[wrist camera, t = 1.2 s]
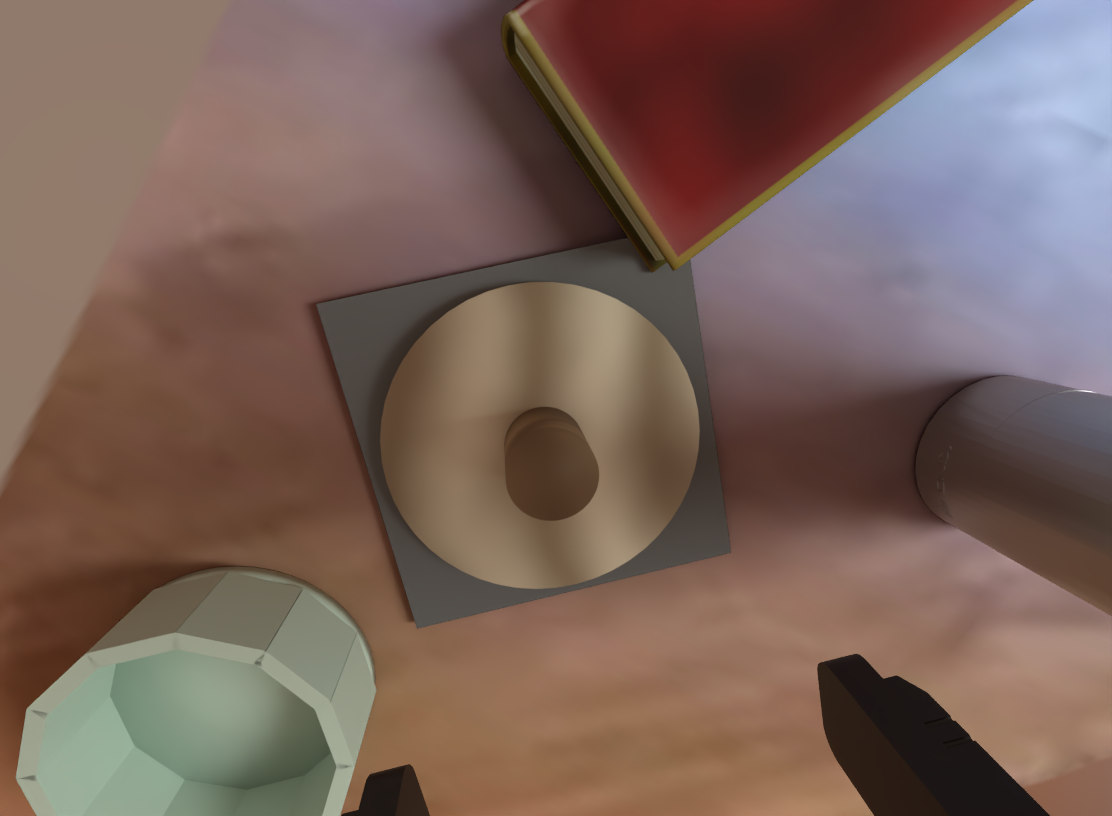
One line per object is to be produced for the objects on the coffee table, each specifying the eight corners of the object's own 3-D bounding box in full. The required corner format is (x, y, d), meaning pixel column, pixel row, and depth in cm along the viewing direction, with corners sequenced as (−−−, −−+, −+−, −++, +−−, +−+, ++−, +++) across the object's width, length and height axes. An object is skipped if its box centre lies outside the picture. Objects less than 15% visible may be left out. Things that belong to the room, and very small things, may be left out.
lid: (668, 250, 28) (708, 246, 23) (712, 541, 32) (754, 595, 27) (343, 320, 27) (306, 333, 22) (430, 608, 31) (417, 678, 26)
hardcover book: (500, 49, 25) (501, 3, 21) (893, -263, 24) (973, -375, 20) (651, 272, 28) (677, 270, 24) (1011, 0, 27) (1102, -51, 23)
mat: (681, 226, 28) (685, 225, 28) (727, 547, 33) (731, 552, 32) (319, 303, 27) (316, 304, 27) (418, 621, 32) (417, 628, 31)
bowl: (333, 539, 30) (294, 603, 25) (404, 748, 34) (385, 847, 28) (65, 601, 30) (-39, 682, 24) (166, 808, 33) (97, 922, 27)
